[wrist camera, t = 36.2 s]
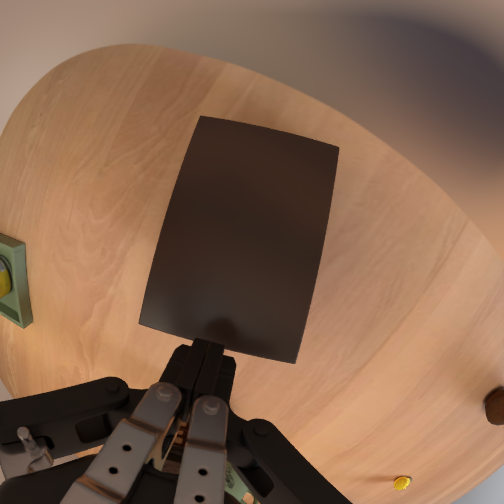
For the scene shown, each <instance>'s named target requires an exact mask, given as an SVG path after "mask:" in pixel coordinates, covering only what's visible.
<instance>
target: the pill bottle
mask: <svg viewBox="0 0 504 504" xmlns="http://www.w3.org/2000/svg"><path fill="white" fill-rule="evenodd" d="M13 287H14V283H13V274H12V270H11V267H10V265H9V263H8V262H7V261H6V259H5V258H4V257H2V256H0V299H1V298H2V297H4V296H5V295H7V294H9V293H10V292H11V291H12V290H13Z"/></svg>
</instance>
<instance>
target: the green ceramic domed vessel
mask: <svg viewBox="0 0 504 504" xmlns="http://www.w3.org/2000/svg"><path fill="white" fill-rule="evenodd" d="M224 490H225V491H227V492H228V493H230V494H231V495H233V496H234V497H235V498H236V499H237V500H238V501H239V502H240V503H241V504H247V503H245V502H244V500H243V499H242V498H243V497H244V495H245V494H246V492H249V493H250V494H252V493H251V491H250V490H249V489H248V488H247V486H246V485H245V484H244V483H243V481H242V480H241V479H240V477H239V476H238V475H237V473H236V472H235V471H234V469H233V468H232V466H231V463H230V462H228V461H226V475H225V489H224ZM252 496H253V497H254V502H253V504H258V500H257V499H256V498H255V496H254V495H253V494H252Z"/></svg>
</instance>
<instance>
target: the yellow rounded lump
mask: <svg viewBox="0 0 504 504" xmlns="http://www.w3.org/2000/svg"><path fill="white" fill-rule="evenodd" d="M411 481H412V478H411V477H409V478H406V477H399V478H398V479H396V480H395V482H394V488H395V489H396V490H403V489H404V488H406V487H407V485H408V484H409V483H410V482H411Z"/></svg>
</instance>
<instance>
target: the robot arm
mask: <svg viewBox="0 0 504 504" xmlns="http://www.w3.org/2000/svg"><path fill="white" fill-rule="evenodd" d="M209 344H210V345H209ZM224 349H225V345H223V344H219V343H216V342H212V341H211V342H210V341H208V340H204V339H200V338H196V337H195V339H194V341H193V343H192V346H188V345H184V344H182V345H180V346H179V347H177V348H176V349H175V350H174V352H173V354H172V357H171V358H170V360H169V362H168V364H167V366H166V368H165V370H164V372H163V374H162V376H161V378H160V380H159V382H158V383H155V384H153V385H151V386H150V388H149V389H143V390H141V389H130V388H129V387H128V385H127V383H126V382H125V381H123V380H122V379H120V378H117V377H105V378H101V379H98V380H94V381H90V382H87V383H83V384H79V385H75V386H71V387H67V388H63V389H59V390H55V391H50V392H46V393H41V394H37V395H32V396H27V397H23V398H17V399H12V400H8V401H1V402H0V465H1V469H2V472H3V474H4V477H5V481H4V482H3V483H2V484H1V485H0V504H241V503H240V502H239V501H238V500H237V499H236V498H235V497H234V496H233V495H231V494H230V493H228V492H227V491H225V490H224V489H225V475H226V461H228V462H230V463H231V466H232V468H233V469H234V471H235V472H236V473H237V475H238V476H239V477H240V479H241V480H242V481H243V483H244V484H245V485H246V486H247V488H248V489H249V490H250V491H251V493H252V494H253V495H254V496H255V498H256V499H257V500H258V501H259V502H260V504H352V503H351V502H350V501H349V500H348V499H347V498H346V497H345V496H343V495H342V494H341V493H340V492H339V491H338V490H337V489H336V488H335V487H334V486H333V485H332V484H331V483H329V482H328V481H327V480H326V479H325V478H324V477H323V476H322V475H321V474H320V473H319V472H318V471H317V470H316V469H315V468H314V467H313V466H312V465H311V464H310V463H309V462H308V461H307V460H306V459H305V458H304V457H303V456H302V455H301V454H300V453H299V452H298V450H297V449H296V448H295V447H294V446H293V445H292V444H291V443H290V442H289V441H288V440H287V439H286V438H285V437H284V435H283V434H282V433H281V432H280V431H279V430H278V429H277V428H276V427H275V426H274V425H273V424H272V423H271V422H269V421H267V420H264V419H252V420H249V421H246V420H244V419H242V418H240V417H238V416H237V415H236V414H234V413H233V411H232V410H231V408H230V405H229V401H230V396H231V391H232V386H233V380H234V375H235V370H236V362H235V360H234V357H230V356H226V355H223V353H224ZM189 416H190V417H189ZM188 419H189V424H190V426H189V431H188V435H187V440H186V443H185V447H184V452H183V457H182V462H181V467H180V472H179V474H173V473H164V472H162V468H163V464H164V462H165V460H166V458H167V456H168V453H169V451H170V449H171V447H172V445H173V443H174V441H175V438H176V436H177V434H178V430H179V428H180V425H181V422H185V423H187V422H188ZM103 444H104V445H103ZM100 445H103V447H102V448H101V450H100V451H99V453H98V454H91V455H87V456H84V457H81V458H79V459H75V460H72V461H69V462H66V463H63V464H60V465H57V466H54V467H52V465H53V462H54V459H57V458H61V457H64V456H67V455H71V454H75V453H78V452H81V451H85V450H88V449H91V448H94V447H97V446H100Z"/></svg>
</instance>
